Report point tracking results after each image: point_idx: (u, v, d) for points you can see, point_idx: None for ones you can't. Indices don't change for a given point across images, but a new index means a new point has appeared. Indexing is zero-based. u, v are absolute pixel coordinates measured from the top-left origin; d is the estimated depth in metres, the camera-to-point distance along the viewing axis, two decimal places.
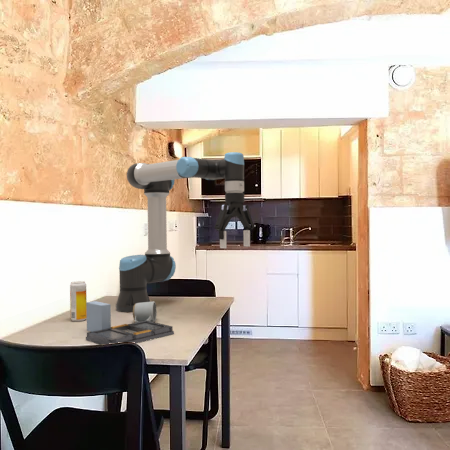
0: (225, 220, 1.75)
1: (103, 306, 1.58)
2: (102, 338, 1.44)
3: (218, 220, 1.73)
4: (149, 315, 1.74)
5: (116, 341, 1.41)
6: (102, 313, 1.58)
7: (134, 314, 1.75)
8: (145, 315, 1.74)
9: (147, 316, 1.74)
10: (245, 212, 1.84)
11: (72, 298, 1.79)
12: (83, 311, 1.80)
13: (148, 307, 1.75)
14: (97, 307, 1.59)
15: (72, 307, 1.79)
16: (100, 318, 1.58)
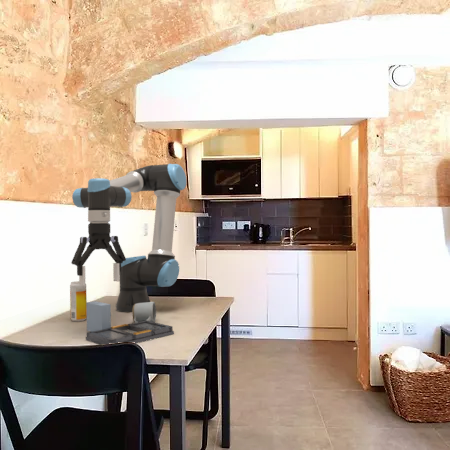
0: (85, 254, 1.58)
1: (103, 306, 1.58)
2: (102, 338, 1.44)
3: (76, 254, 1.56)
4: (149, 315, 1.73)
5: (116, 341, 1.41)
6: (102, 313, 1.58)
7: (134, 314, 1.74)
8: (145, 315, 1.73)
9: (147, 316, 1.73)
10: (114, 243, 1.66)
11: (72, 298, 1.79)
12: (83, 311, 1.80)
13: (148, 307, 1.74)
14: (97, 307, 1.59)
15: (72, 307, 1.79)
16: (100, 318, 1.58)
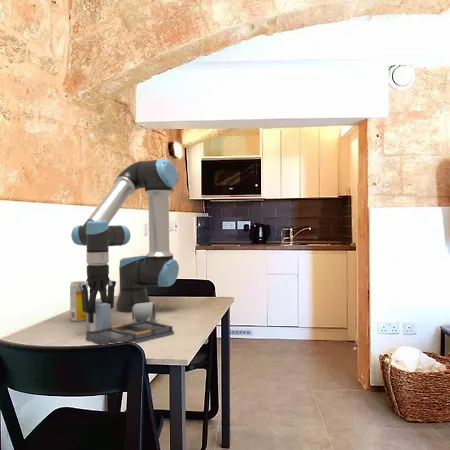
0: (91, 300, 1.60)
1: (103, 306, 1.58)
2: (102, 338, 1.44)
3: (83, 303, 1.58)
4: (148, 316, 1.72)
5: (116, 341, 1.41)
6: (102, 313, 1.58)
7: (133, 315, 1.73)
8: (144, 316, 1.73)
9: (146, 317, 1.73)
10: (110, 288, 1.65)
11: (72, 298, 1.79)
12: None
13: (148, 307, 1.73)
14: (97, 307, 1.59)
15: (72, 307, 1.79)
16: (100, 318, 1.58)
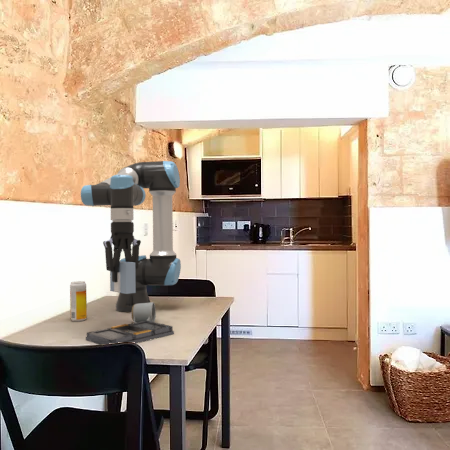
0: (115, 258, 1.52)
1: (128, 264, 1.51)
2: (102, 338, 1.44)
3: (107, 260, 1.51)
4: (148, 316, 1.72)
5: (116, 341, 1.41)
6: (127, 271, 1.50)
7: (133, 315, 1.73)
8: (144, 316, 1.72)
9: (146, 317, 1.72)
10: (134, 247, 1.58)
11: (72, 298, 1.79)
12: (83, 311, 1.80)
13: (147, 308, 1.73)
14: (121, 265, 1.52)
15: (72, 307, 1.79)
16: (124, 276, 1.51)
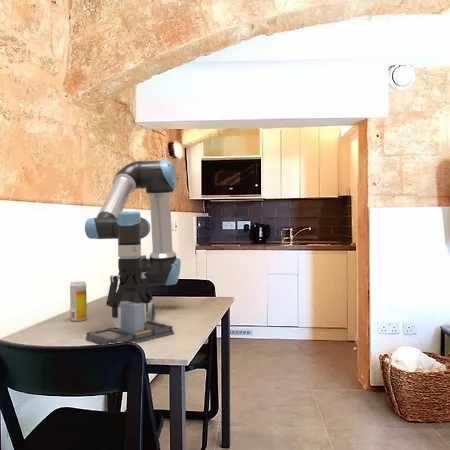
0: (118, 294, 1.50)
1: (136, 306, 1.50)
2: (102, 338, 1.44)
3: (109, 295, 1.48)
4: (147, 316, 1.71)
5: (116, 341, 1.41)
6: (136, 314, 1.50)
7: None
8: None
9: None
10: (144, 280, 1.58)
11: (72, 298, 1.79)
12: (83, 311, 1.80)
13: None
14: (129, 307, 1.51)
15: (72, 307, 1.79)
16: (133, 319, 1.50)
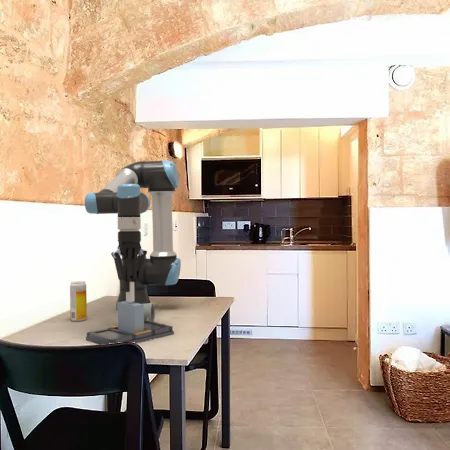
0: (125, 268, 1.52)
1: (136, 306, 1.50)
2: (102, 338, 1.44)
3: (118, 271, 1.51)
4: (147, 317, 1.70)
5: (116, 341, 1.41)
6: (136, 314, 1.50)
7: None
8: None
9: (145, 318, 1.71)
10: (140, 257, 1.57)
11: (72, 298, 1.79)
12: (83, 311, 1.80)
13: (146, 308, 1.71)
14: (129, 307, 1.51)
15: (72, 307, 1.79)
16: (133, 319, 1.50)
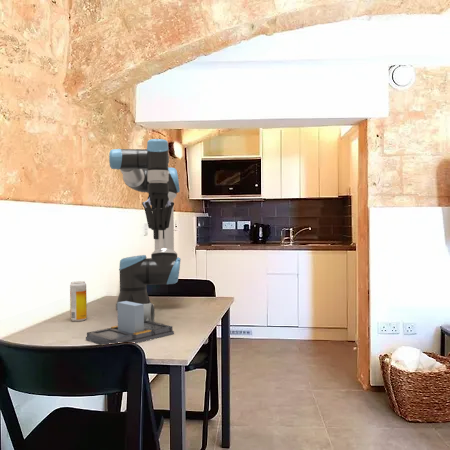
0: (154, 217, 1.65)
1: (136, 306, 1.50)
2: (102, 338, 1.44)
3: (148, 219, 1.63)
4: (146, 317, 1.70)
5: (116, 341, 1.41)
6: (136, 314, 1.50)
7: None
8: None
9: (144, 318, 1.70)
10: (167, 208, 1.69)
11: (72, 298, 1.79)
12: (83, 311, 1.80)
13: (146, 309, 1.71)
14: (129, 307, 1.51)
15: (72, 307, 1.79)
16: (133, 319, 1.50)
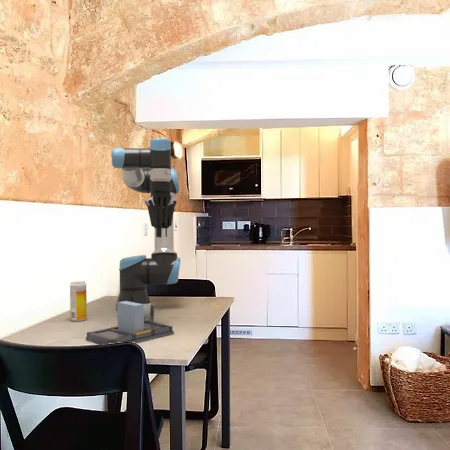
0: (157, 216, 1.66)
1: (136, 306, 1.50)
2: (102, 338, 1.44)
3: (151, 218, 1.64)
4: (146, 317, 1.70)
5: (116, 341, 1.41)
6: (136, 314, 1.50)
7: None
8: None
9: (144, 318, 1.70)
10: (170, 206, 1.70)
11: (72, 298, 1.79)
12: (83, 311, 1.80)
13: (146, 309, 1.71)
14: (129, 307, 1.51)
15: (72, 307, 1.79)
16: (133, 319, 1.50)
